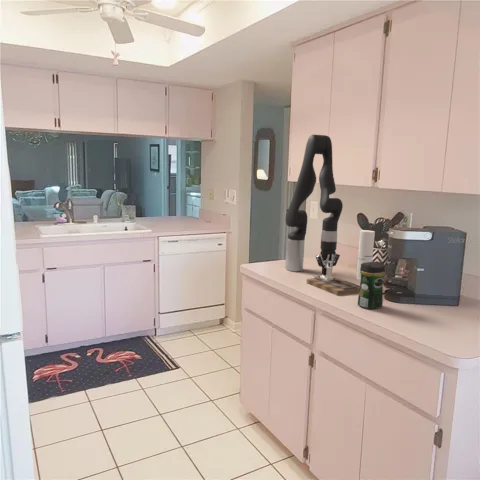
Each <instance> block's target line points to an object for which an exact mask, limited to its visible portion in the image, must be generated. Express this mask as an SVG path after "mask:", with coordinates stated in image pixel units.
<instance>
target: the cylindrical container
mask: <svg viewBox="0 0 480 480" xmlns="http://www.w3.org/2000/svg"><path fill="white" fill-rule="evenodd" d="M375 234H376V231H374V230H367V229H363V230H362V229H361V230H360V231H359V239H358V241H359V243H358V254H357V267H356V279H355V280H358V281H361V273H360V268H361V264H362V263H366V262H373V257H374V246H375V237H376V236H375Z"/></svg>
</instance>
